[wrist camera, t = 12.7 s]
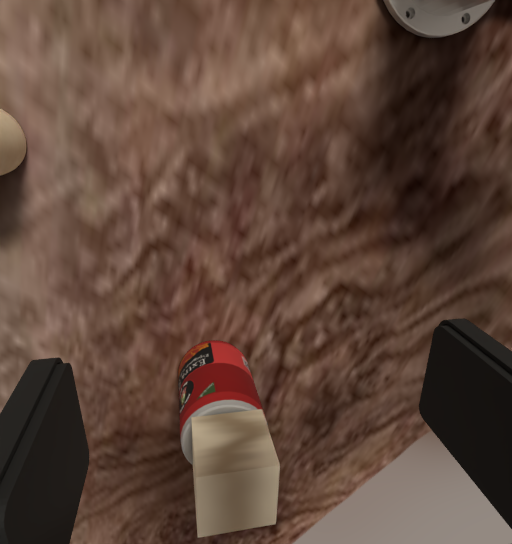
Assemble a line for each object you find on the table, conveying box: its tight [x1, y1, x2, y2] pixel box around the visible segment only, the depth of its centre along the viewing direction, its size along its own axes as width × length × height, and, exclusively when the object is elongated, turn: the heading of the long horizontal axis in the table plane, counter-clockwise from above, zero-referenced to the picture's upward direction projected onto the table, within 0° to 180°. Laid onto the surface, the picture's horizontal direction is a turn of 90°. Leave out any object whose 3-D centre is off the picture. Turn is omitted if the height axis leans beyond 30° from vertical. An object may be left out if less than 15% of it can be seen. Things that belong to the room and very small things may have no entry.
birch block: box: [191, 409, 280, 538], centre depth 32 cm, size 6×6×6 cm
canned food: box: [178, 341, 268, 465], centre depth 39 cm, size 8×8×11 cm
